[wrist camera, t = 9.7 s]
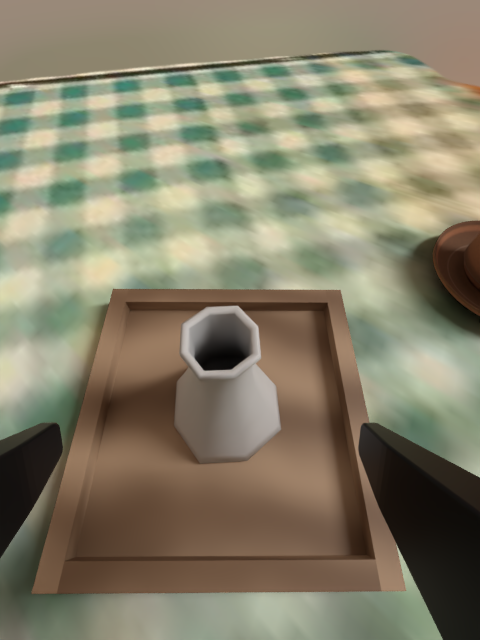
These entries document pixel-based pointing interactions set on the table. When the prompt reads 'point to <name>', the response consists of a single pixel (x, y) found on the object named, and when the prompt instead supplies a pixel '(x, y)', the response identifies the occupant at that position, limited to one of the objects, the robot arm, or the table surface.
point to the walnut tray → (219, 478)
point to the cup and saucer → (460, 263)
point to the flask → (224, 388)
